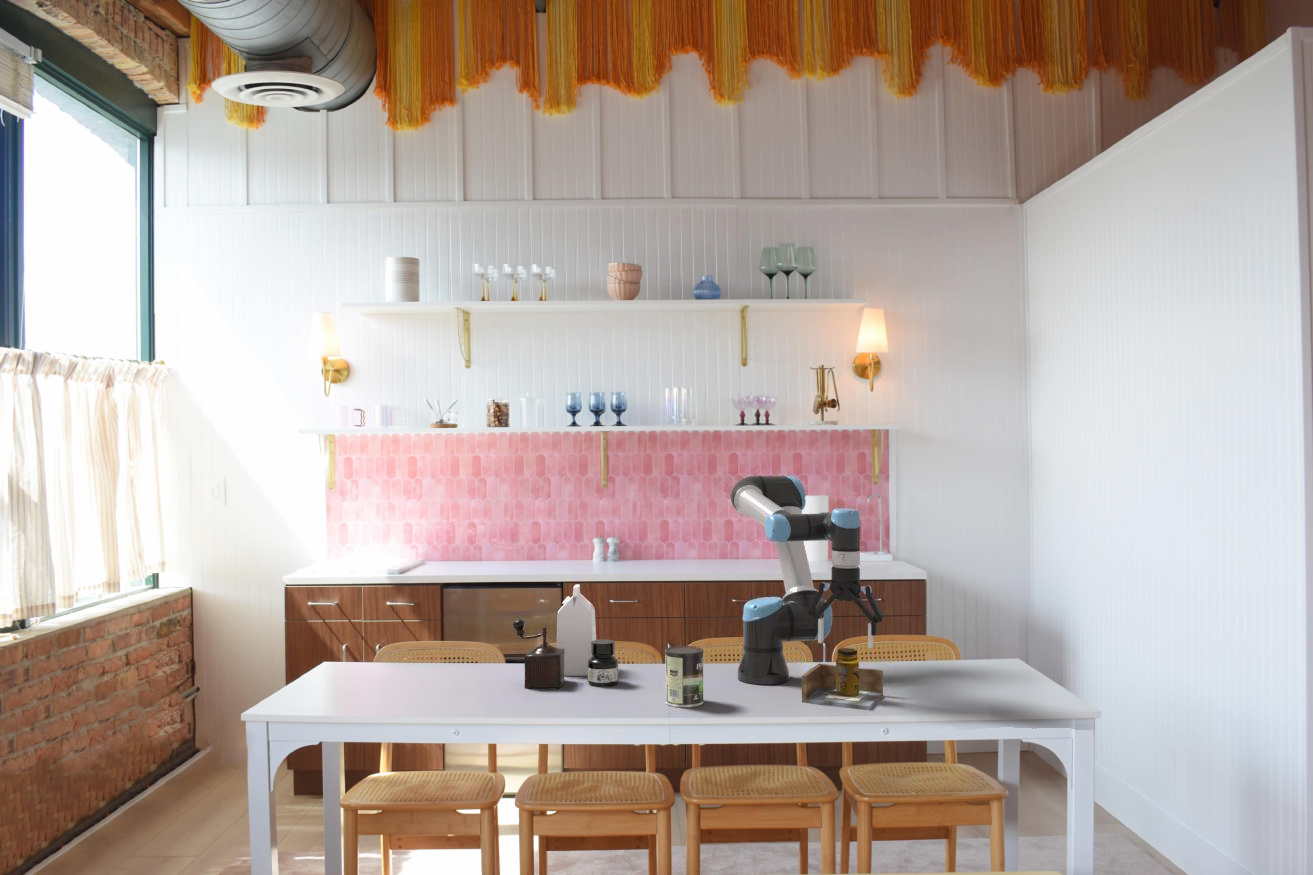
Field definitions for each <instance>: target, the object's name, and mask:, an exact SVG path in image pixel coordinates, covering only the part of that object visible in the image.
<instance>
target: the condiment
mask: <svg viewBox="0 0 1313 875" xmlns="http://www.w3.org/2000/svg"><path fill="white" fill-rule="evenodd" d="M836 655H837V658H836V659H835V665H836V691H831V692H824V693H826V694H828V695H830V696H833V697H837V698H840V699H846V698H852V697H859V696H864V695H865V694H861V693H858V692H859V668H860V662H859V659H858V649H855V648H850V647H849V648H848V647H842V648H838V649H837V654H836Z"/></svg>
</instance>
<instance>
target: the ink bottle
mask: <svg viewBox="0 0 1313 875" xmlns="http://www.w3.org/2000/svg"><path fill="white" fill-rule="evenodd" d="M615 644H616V643H615V640H613V639H596V640H594V641H592V642H591V652H592V653H591V654H592V655H593V656H592V657H591V658H590V659H589V660H588V676H587V683H588V684H589V685H590V686H595V687H610V686H615V685H616V684H618V683H619V659H618V658H617V657H615V652H616V651H615V648H616V645H615Z"/></svg>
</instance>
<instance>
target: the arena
mask: <svg viewBox="0 0 1313 875" xmlns="http://www.w3.org/2000/svg"><path fill="white" fill-rule="evenodd" d="M831 691H836V664H828V663H827V664H826V663H817V664H816V665H815V666H813V667H812V668H810V669H809V670H807V671H806V672H804V673H803V674H802V675H801V703H807V704H815V705H822V706H823V705H824V706H833V707H840V708H850V709H857V710H865V711H870V710H871V709H872V708H873V707H874V706H875V705H876V704H877V703H878V702H879V700H881V699H882V697H884V670H883V669H877V668H867V667H859V692H858V693H861V694H865V695H864V696H859V697H852V698H846V699H840V698H837V697H833V696H830V695H828V694H826V693H824V692H831Z"/></svg>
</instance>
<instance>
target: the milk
mask: <svg viewBox="0 0 1313 875" xmlns="http://www.w3.org/2000/svg"><path fill="white" fill-rule="evenodd" d="M561 604H563V605H562V606H561V607H560V608H559V610H558V611H557V616H556V617H557V619H556V645H555V648H558V649H564V677H565V676H566V677H568V676H573V677H575V676H579V677H580V676H581V677H582V676H583V677H584V676H587V677H588V660H589V659H590V658H591V657H592V656H593V655H592V654H591V653H592V652H591V642H592V641H594V640H597V633H596V626H597V625H596V611H595V610H596V609H595V606H594V605H593V604H592V602H590V600H588V599H587V598H586V597H585V596H584V595H583V594H582V593H581V585H580V584H575V585H574V586H573V588H572V596H571V597H570V596H569V595H568V596H566V598H565V599H564V600H563V601H562V602H561Z"/></svg>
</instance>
